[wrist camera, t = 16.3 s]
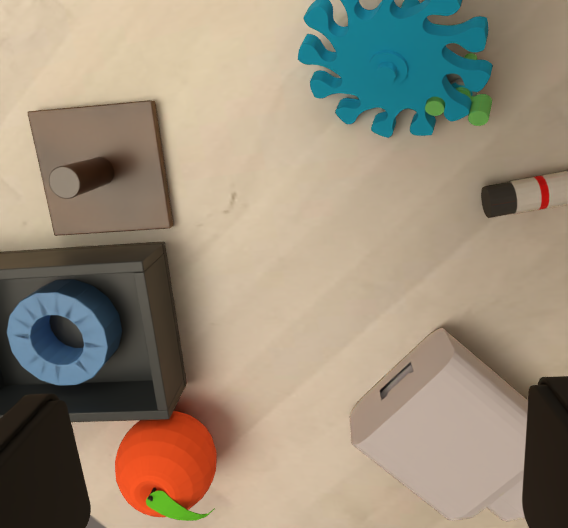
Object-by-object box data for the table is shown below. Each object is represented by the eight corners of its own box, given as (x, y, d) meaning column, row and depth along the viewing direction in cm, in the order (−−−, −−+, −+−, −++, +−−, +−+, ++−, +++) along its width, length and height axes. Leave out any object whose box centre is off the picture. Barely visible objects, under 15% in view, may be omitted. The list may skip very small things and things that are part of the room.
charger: (493, 524, 40) (348, 409, 38) (590, 451, 37) (440, 322, 35) (515, 578, 35) (351, 451, 33) (626, 499, 33) (456, 355, 31)
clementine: (254, 436, 39) (239, 507, 32) (201, 492, 41) (176, 569, 34) (169, 374, 38) (135, 434, 31) (118, 434, 40) (76, 502, 33)
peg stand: (33, 111, 33) (-23, 113, 28) (155, 100, 32) (121, 100, 27) (60, 232, 35) (13, 256, 30) (174, 225, 35) (146, 248, 29)
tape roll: (18, 282, 36) (-4, 295, 34) (112, 276, 35) (96, 290, 33) (40, 368, 38) (20, 387, 36) (129, 365, 37) (115, 384, 35)
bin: (-35, 253, 36) (-83, 274, 32) (164, 241, 35) (142, 260, 31) (3, 390, 40) (-36, 425, 35) (186, 384, 38) (169, 419, 34)
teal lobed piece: (265, 81, 30) (355, -69, 21) (299, 18, 32) (390, -139, 24) (419, 178, 32) (555, 79, 24) (438, 112, 35) (567, 1, 26)
